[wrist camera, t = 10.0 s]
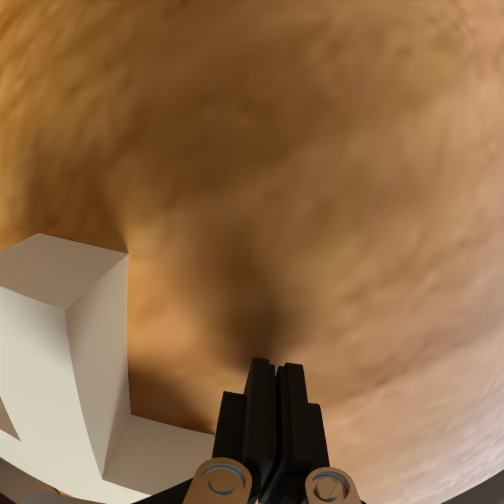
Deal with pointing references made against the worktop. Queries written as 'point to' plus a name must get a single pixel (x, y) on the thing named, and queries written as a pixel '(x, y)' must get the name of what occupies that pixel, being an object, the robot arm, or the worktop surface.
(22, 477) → the coffee cup
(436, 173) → the worktop surface
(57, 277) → the t block
